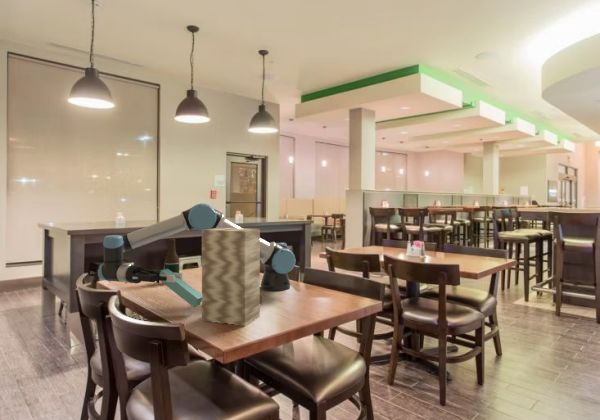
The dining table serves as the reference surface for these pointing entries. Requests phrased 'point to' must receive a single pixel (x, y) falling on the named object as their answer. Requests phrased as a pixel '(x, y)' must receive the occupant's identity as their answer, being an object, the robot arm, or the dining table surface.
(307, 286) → the dining table surface
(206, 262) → the tall wood-grain block
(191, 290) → the bar
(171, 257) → the beer bottle
